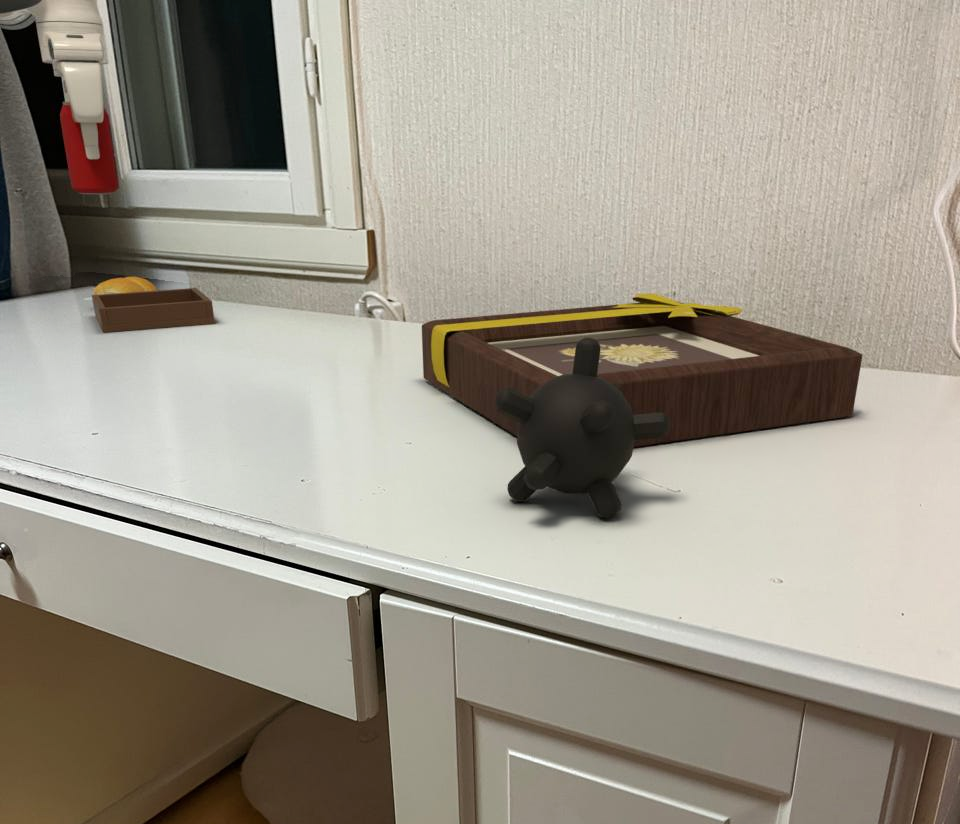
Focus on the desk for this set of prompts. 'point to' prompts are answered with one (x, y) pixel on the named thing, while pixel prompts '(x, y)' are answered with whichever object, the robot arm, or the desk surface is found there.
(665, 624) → the desk surface
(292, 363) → the desk surface
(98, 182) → the beverage can
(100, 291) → the bread roll
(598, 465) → the naval mine
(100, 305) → the serving tray
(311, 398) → the desk surface
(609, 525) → the desk surface
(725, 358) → the brown gift box
